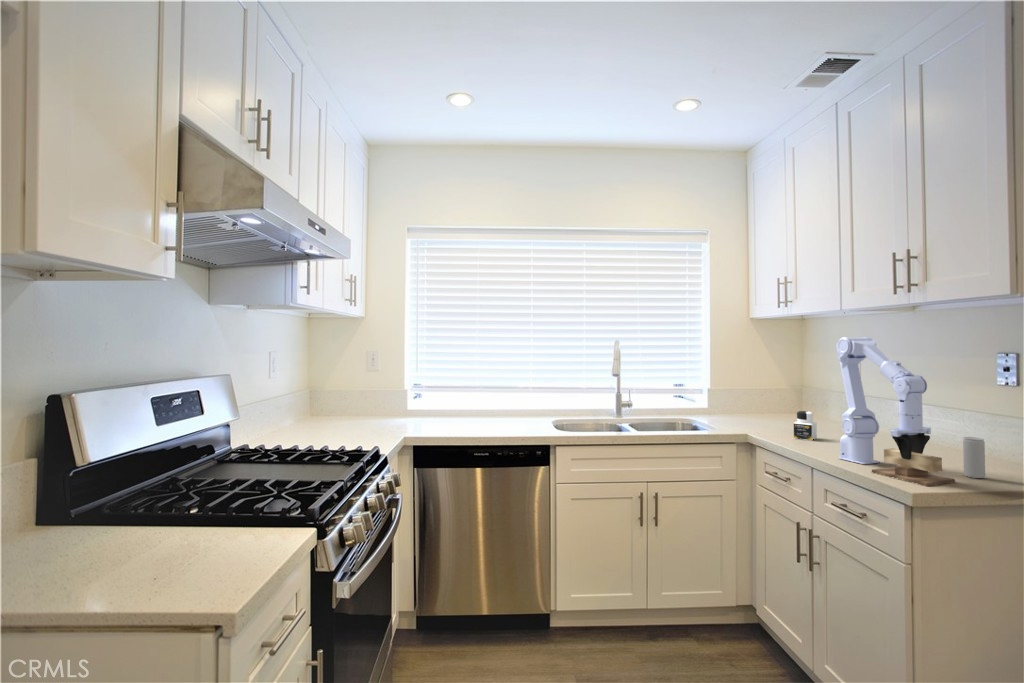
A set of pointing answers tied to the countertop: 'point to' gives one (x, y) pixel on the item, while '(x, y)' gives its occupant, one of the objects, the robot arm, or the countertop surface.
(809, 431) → the medicine bottle
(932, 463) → the beam
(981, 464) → the beverage can
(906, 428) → the robot arm
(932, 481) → the fulcrum
